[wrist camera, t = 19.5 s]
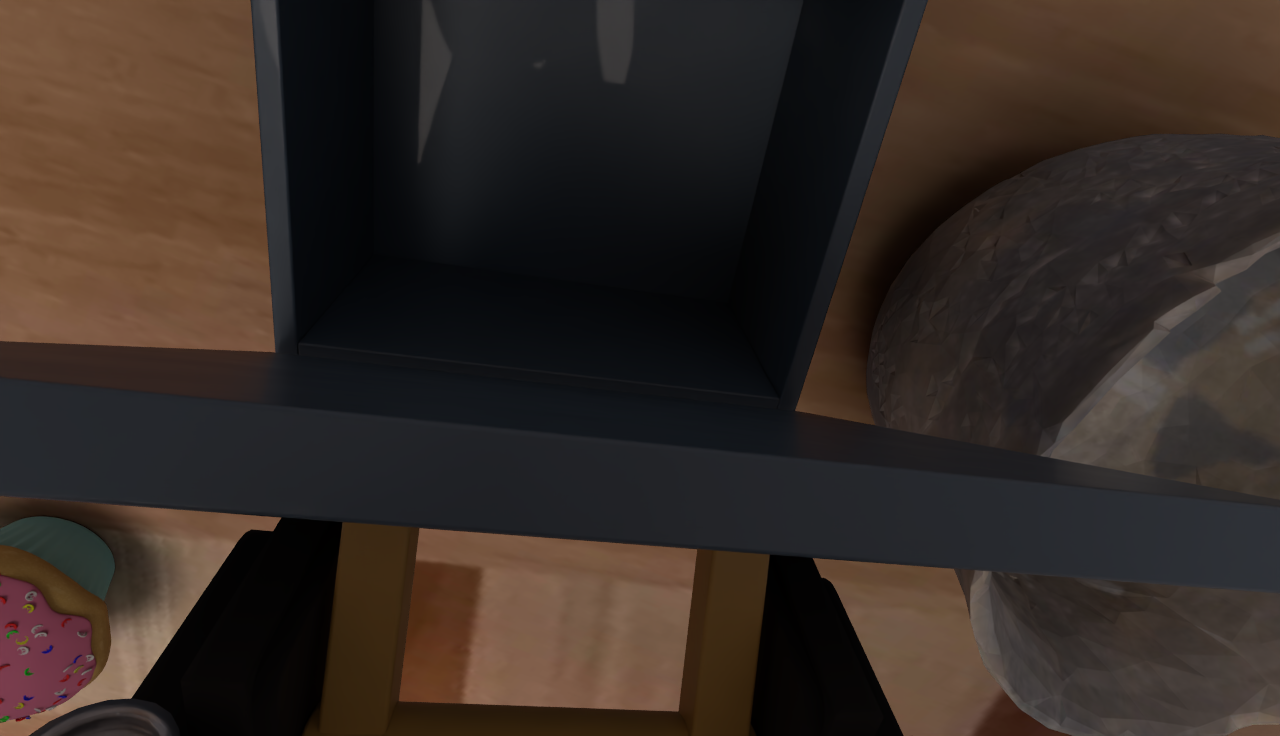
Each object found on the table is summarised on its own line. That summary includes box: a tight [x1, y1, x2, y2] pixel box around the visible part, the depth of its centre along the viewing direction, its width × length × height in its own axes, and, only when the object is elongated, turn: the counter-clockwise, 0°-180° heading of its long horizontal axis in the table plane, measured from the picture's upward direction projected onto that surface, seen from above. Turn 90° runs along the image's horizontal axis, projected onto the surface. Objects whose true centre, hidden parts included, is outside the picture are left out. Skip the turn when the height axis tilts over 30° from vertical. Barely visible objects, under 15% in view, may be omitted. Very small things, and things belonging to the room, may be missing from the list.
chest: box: [251, 0, 928, 411], centre depth 21 cm, size 13×15×9 cm
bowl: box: [866, 134, 1280, 736], centre depth 23 cm, size 18×18×15 cm
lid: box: [0, 341, 1280, 736], centre depth 12 cm, size 14×15×5 cm
